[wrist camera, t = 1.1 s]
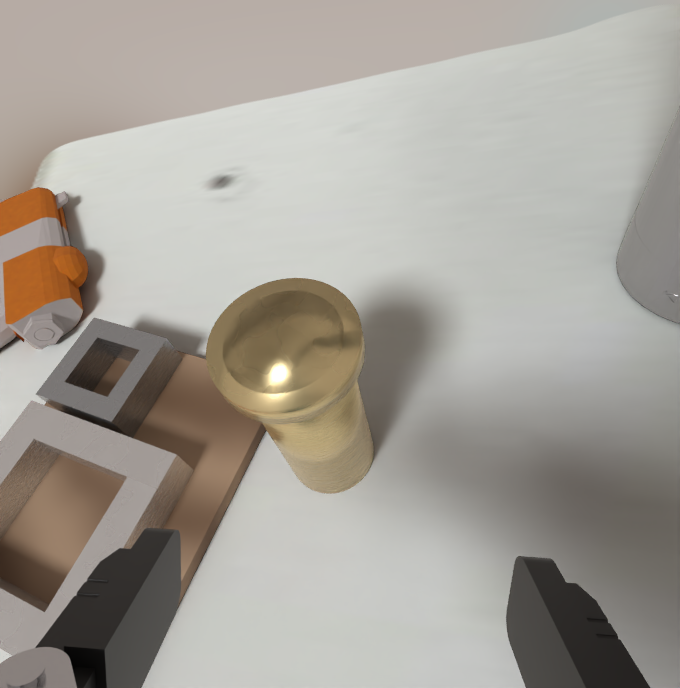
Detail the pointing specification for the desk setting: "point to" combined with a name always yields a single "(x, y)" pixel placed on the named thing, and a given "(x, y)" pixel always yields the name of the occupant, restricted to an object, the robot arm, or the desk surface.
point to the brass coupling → (298, 376)
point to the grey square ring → (92, 364)
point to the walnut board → (100, 489)
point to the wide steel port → (114, 528)
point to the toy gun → (38, 270)
